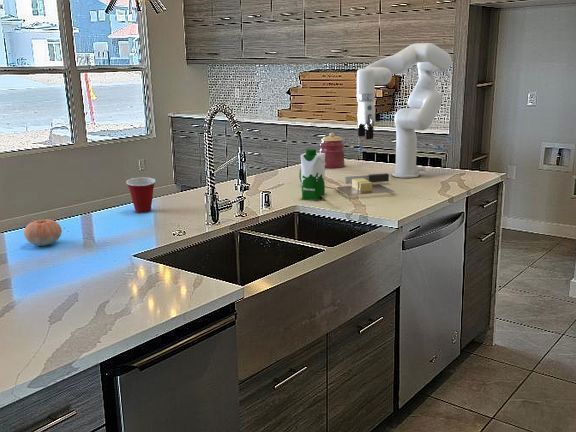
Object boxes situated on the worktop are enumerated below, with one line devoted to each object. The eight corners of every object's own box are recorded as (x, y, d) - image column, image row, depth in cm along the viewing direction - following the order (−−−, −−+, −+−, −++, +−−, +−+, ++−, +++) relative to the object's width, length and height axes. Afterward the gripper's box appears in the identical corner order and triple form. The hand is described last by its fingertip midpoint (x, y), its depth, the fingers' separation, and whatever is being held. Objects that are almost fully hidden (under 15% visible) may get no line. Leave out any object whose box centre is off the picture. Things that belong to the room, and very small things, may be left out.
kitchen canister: (318, 168, 303) (318, 133, 299) (321, 164, 315) (320, 131, 311) (343, 168, 301) (343, 133, 296) (345, 164, 313) (345, 130, 309)
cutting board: (379, 187, 255) (379, 183, 255) (395, 195, 240) (395, 191, 240) (335, 190, 250) (335, 187, 250) (349, 198, 235) (349, 195, 235)
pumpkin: (25, 251, 177) (22, 225, 175) (25, 241, 187) (22, 217, 185) (64, 246, 181) (61, 221, 179) (62, 237, 191) (59, 213, 189)
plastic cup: (132, 216, 215) (129, 184, 212) (125, 210, 225) (122, 179, 222) (161, 212, 220) (159, 180, 217) (153, 206, 230) (151, 176, 226)
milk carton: (299, 199, 236) (298, 150, 231) (307, 194, 244) (307, 146, 239) (319, 201, 232) (319, 150, 227) (327, 196, 240) (327, 147, 235)
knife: (386, 183, 264) (386, 173, 262) (388, 184, 261) (388, 174, 260) (344, 186, 259) (344, 176, 258) (346, 187, 256) (346, 177, 255)
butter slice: (370, 190, 243) (370, 181, 243) (372, 191, 242) (372, 182, 241) (358, 190, 242) (358, 182, 241) (360, 191, 240) (360, 183, 240)
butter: (362, 186, 251) (362, 178, 250) (369, 189, 245) (369, 181, 244) (351, 187, 250) (351, 179, 249) (357, 190, 243) (357, 182, 242)
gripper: (381, 98, 246) (381, 139, 250) (366, 96, 262) (366, 134, 267) (364, 99, 244) (364, 140, 249) (350, 97, 261) (350, 135, 265)
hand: (365, 137), depth 258 cm, fingers open, 9 cm apart
